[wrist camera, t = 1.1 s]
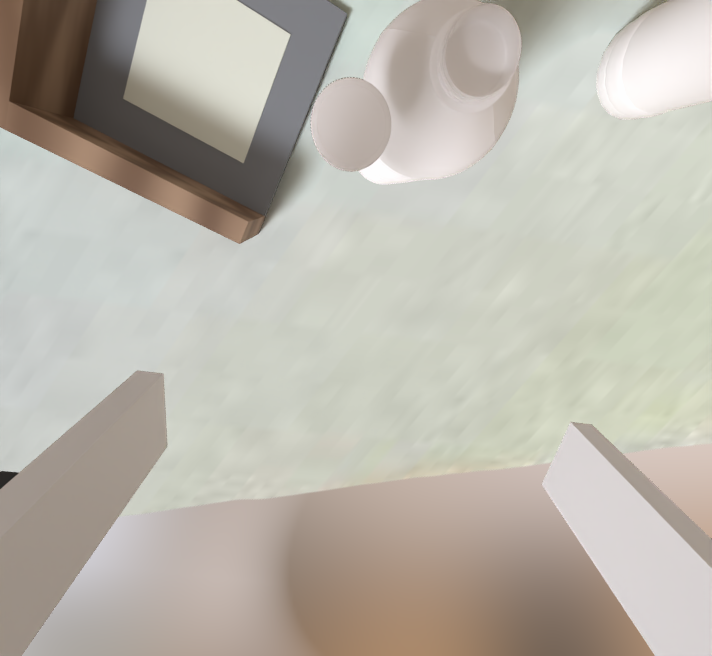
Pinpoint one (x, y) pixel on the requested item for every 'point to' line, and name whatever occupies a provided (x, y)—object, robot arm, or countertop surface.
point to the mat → (209, 84)
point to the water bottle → (424, 94)
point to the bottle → (659, 61)
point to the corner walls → (77, 140)
